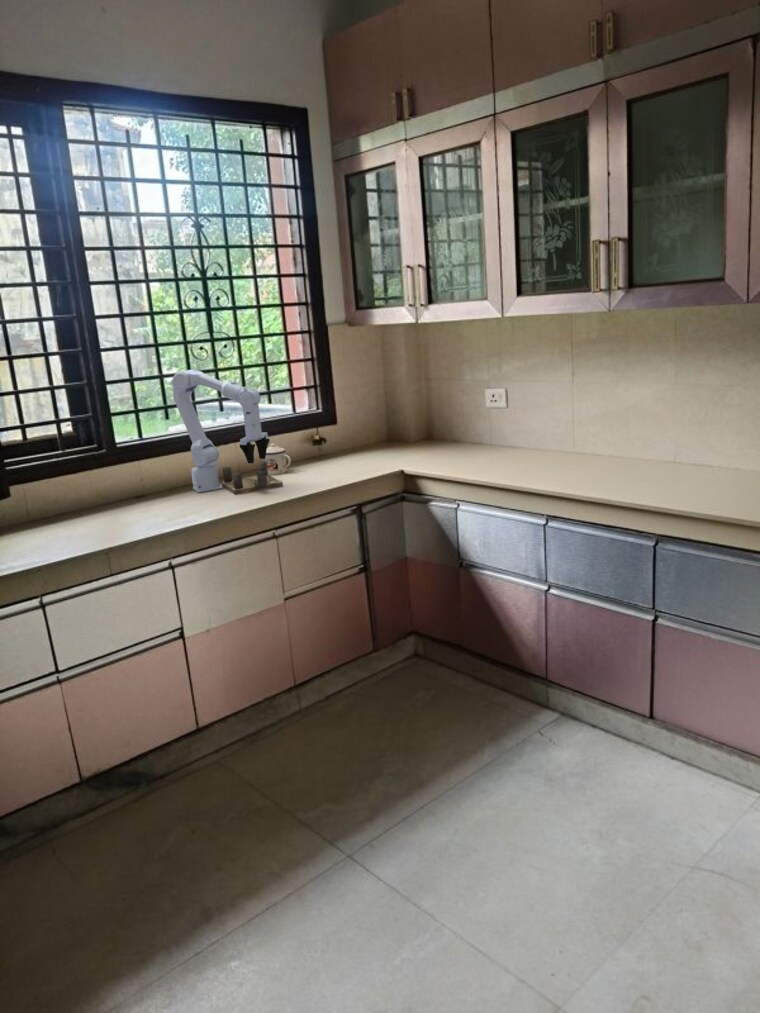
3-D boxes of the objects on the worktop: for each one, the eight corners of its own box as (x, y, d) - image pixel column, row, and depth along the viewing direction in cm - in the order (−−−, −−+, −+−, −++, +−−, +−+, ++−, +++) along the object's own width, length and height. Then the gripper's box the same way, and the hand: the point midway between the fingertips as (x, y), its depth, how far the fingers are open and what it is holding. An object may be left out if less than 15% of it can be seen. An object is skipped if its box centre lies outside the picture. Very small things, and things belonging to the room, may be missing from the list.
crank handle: (251, 484, 282) (250, 469, 281) (260, 482, 283) (259, 467, 282) (260, 489, 274) (258, 473, 272) (269, 487, 275) (267, 472, 274)
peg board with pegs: (235, 494, 277) (232, 475, 275) (221, 485, 293) (219, 467, 291) (283, 486, 284) (281, 467, 282) (268, 478, 300) (266, 460, 299)
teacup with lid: (260, 474, 308) (256, 445, 305) (273, 469, 316) (270, 441, 313) (285, 475, 303) (282, 446, 300) (298, 470, 310) (295, 442, 307)
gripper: (250, 427, 270) (254, 465, 273) (273, 420, 282) (276, 457, 286) (233, 427, 273) (238, 464, 276) (256, 420, 285) (260, 456, 289)
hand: (256, 460), depth 281 cm, fingers open, 7 cm apart
